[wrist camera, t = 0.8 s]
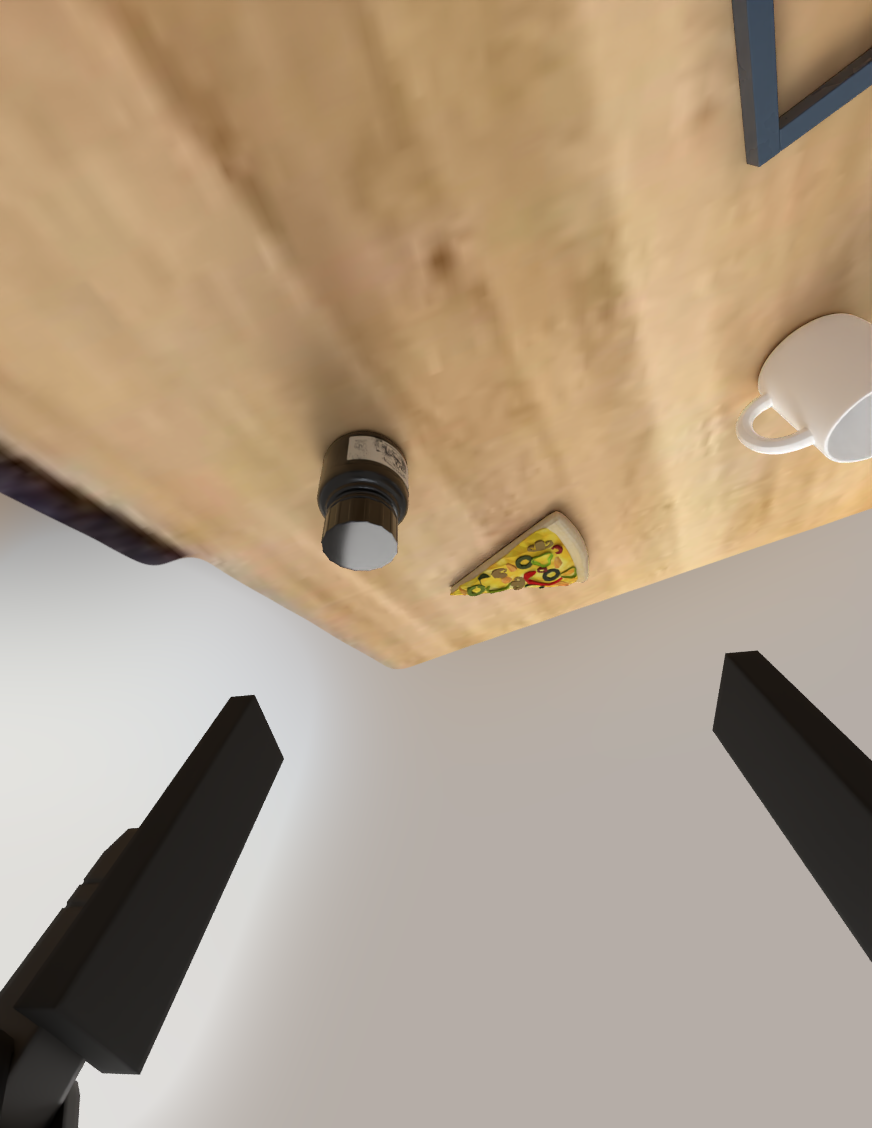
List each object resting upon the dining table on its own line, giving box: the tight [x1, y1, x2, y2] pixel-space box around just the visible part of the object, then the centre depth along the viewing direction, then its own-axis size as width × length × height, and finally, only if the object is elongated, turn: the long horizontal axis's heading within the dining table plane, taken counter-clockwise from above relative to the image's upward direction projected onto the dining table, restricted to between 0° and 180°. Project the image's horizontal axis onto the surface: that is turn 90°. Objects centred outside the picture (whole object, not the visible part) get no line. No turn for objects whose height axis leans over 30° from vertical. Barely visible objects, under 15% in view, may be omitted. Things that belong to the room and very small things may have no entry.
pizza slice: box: [450, 511, 589, 596], centre depth 58 cm, size 16×21×3 cm
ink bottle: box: [317, 432, 409, 571], centre depth 41 cm, size 10×9×12 cm
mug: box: [736, 313, 872, 463], centre depth 36 cm, size 12×8×10 cm
